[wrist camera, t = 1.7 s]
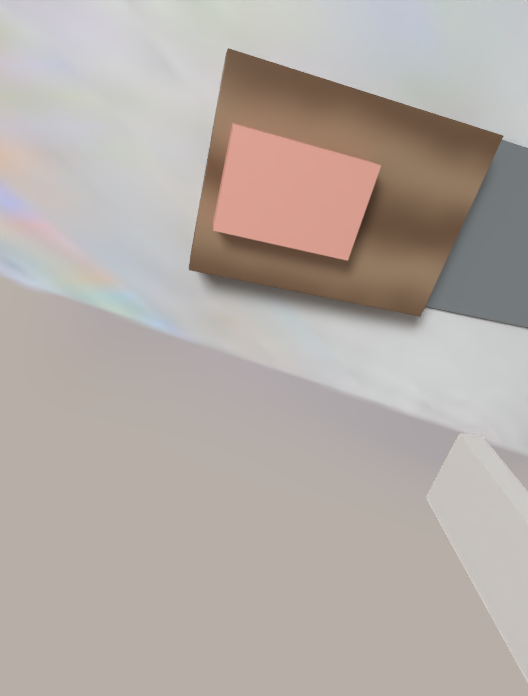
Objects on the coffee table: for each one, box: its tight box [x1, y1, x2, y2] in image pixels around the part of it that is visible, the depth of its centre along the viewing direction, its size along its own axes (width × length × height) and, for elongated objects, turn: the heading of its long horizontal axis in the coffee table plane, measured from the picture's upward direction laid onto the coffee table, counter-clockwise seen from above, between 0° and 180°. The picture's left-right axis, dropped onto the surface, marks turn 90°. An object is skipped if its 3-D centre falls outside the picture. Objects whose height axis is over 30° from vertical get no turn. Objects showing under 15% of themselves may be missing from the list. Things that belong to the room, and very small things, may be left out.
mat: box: [425, 140, 528, 328], centre depth 34 cm, size 13×13×1 cm
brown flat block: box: [189, 49, 503, 316], centre depth 30 cm, size 13×18×3 cm
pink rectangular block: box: [213, 123, 381, 261], centre depth 27 cm, size 9×6×2 cm, turn 76°
